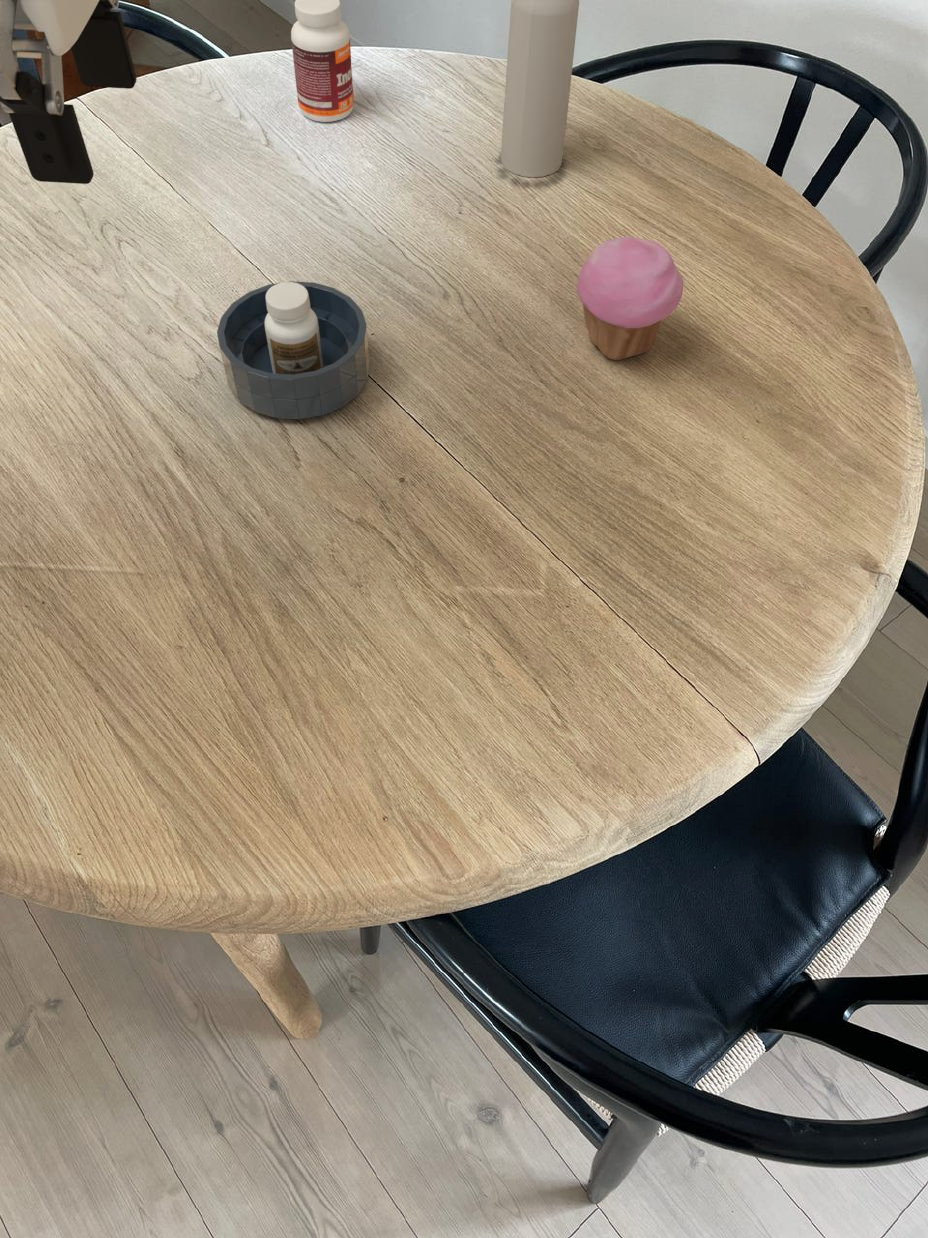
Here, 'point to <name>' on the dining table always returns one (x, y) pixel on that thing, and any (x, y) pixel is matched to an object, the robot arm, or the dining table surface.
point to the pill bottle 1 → (322, 60)
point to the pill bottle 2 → (292, 330)
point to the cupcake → (627, 294)
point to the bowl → (300, 391)
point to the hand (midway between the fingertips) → (88, 129)
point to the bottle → (538, 85)
